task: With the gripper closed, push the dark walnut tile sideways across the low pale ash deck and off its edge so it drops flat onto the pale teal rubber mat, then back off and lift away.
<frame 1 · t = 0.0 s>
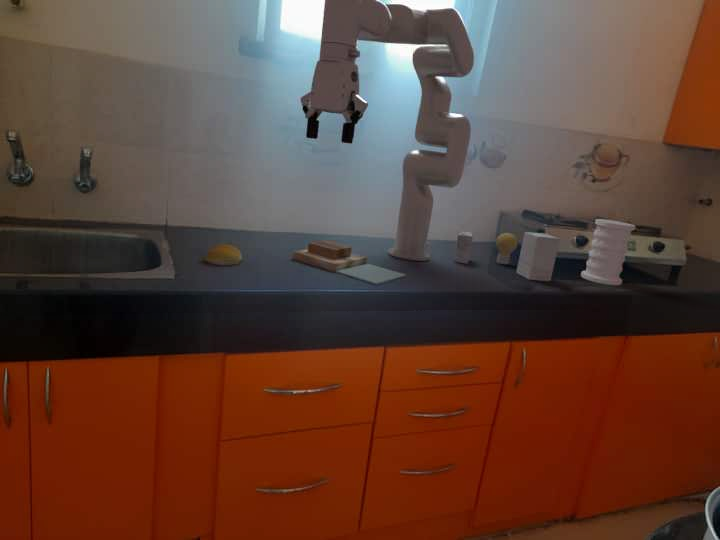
hand: (328, 140, 108), 31 cm above the countertop, fingers open, 9 cm apart
supplement box: (532, 277, 146), on the countertop
light bulb: (502, 264, 159), on the countertop
decorative container: (600, 280, 154), on the countertop
teal mat: (371, 274, 126), on the countertop
walnut tile: (329, 254, 133), point 2 cm above the countertop, touching ash deck
ash deck: (329, 261, 133), on the countertop
medicine box: (460, 261, 156), on the countertop
bread roll: (223, 262, 121), on the countertop
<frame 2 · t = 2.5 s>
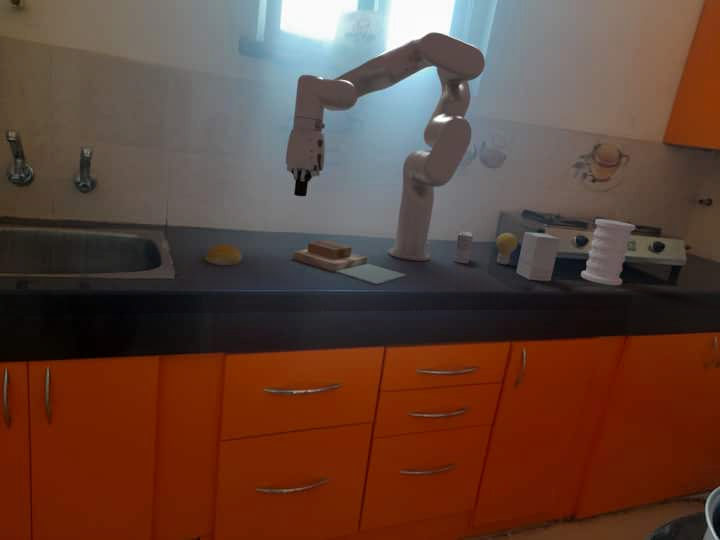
hand: (300, 195, 135), 16 cm above the countertop, fingers closed
nothing on the countertop moved.
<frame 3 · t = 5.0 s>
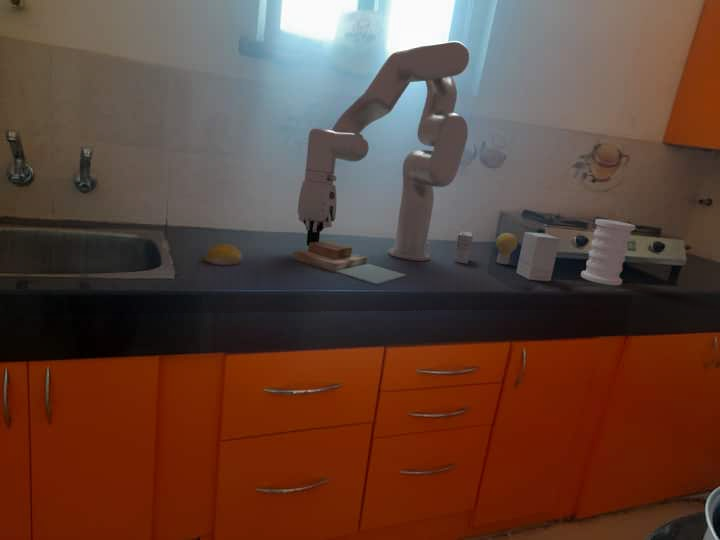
hand: (312, 245, 136), 3 cm above the countertop, fingers closed
walnut tile: (329, 254, 133), point 2 cm above the countertop, touching ash deck, gripper
everything else where it was.
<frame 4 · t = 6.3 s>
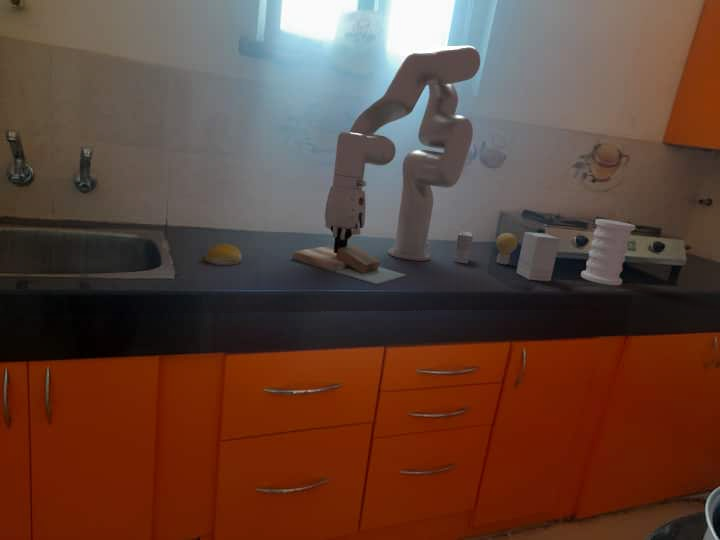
hand: (339, 253, 131), 3 cm above the countertop, fingers closed
walnut tile: (356, 263, 128), point 2 cm above the countertop, tilted 15°, touching gripper
everything else where it was.
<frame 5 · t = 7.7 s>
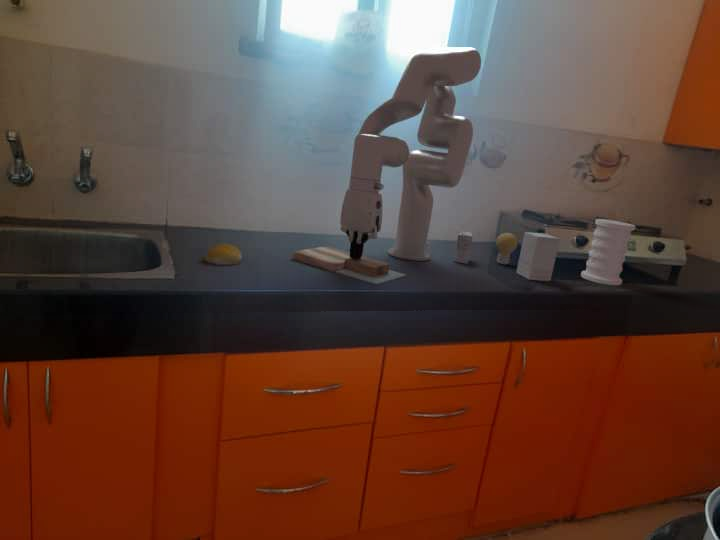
hand: (355, 257, 128), 3 cm above the countertop, fingers closed
walnut tile: (366, 271, 127), resting on teal mat
everything else where it was.
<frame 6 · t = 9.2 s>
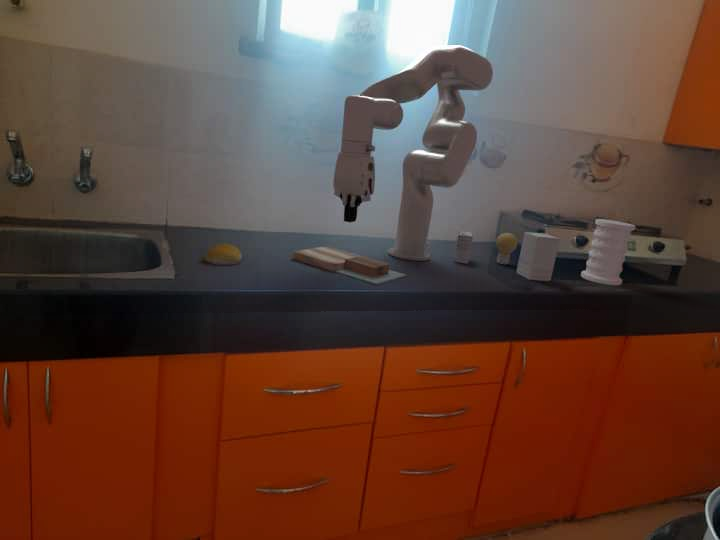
hand: (349, 221, 129), 12 cm above the countertop, fingers closed
nothing on the countertop moved.
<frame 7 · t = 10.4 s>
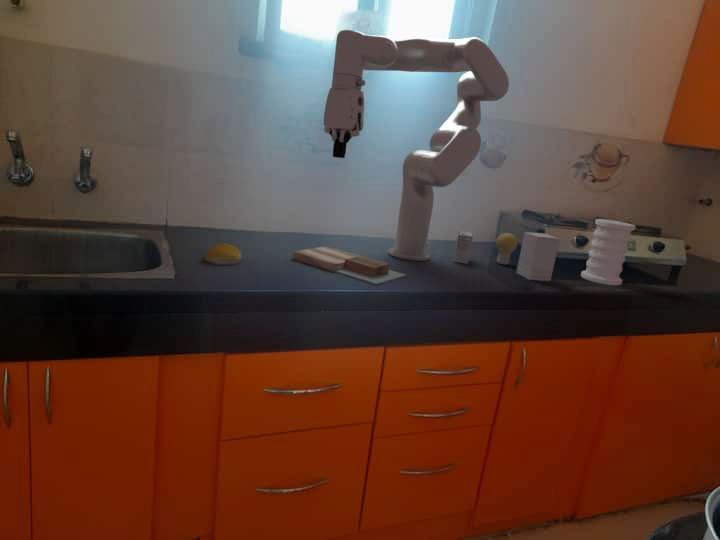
hand: (338, 157, 131), 27 cm above the countertop, fingers closed
nothing on the countertop moved.
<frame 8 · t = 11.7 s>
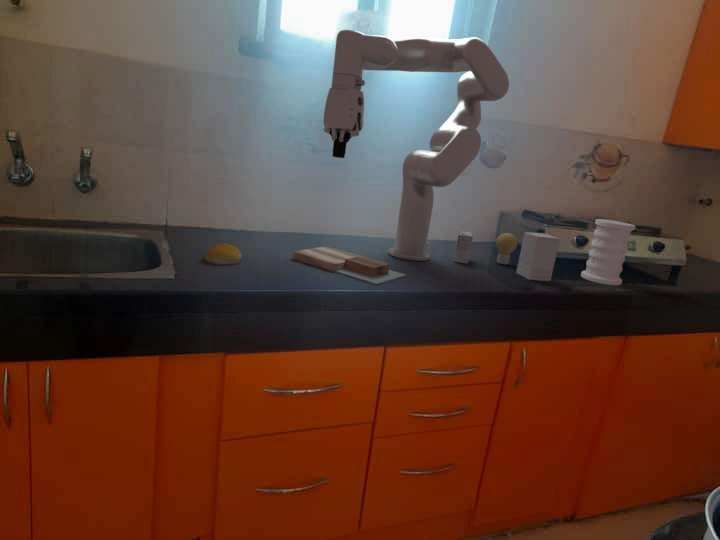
hand: (338, 157, 132), 27 cm above the countertop, fingers closed
nothing on the countertop moved.
at the end: walnut tile inside the target area (2.5 cm from its centre), resting on teal mat; walnut tile tilted 0°; walnut tile touching teal mat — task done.
